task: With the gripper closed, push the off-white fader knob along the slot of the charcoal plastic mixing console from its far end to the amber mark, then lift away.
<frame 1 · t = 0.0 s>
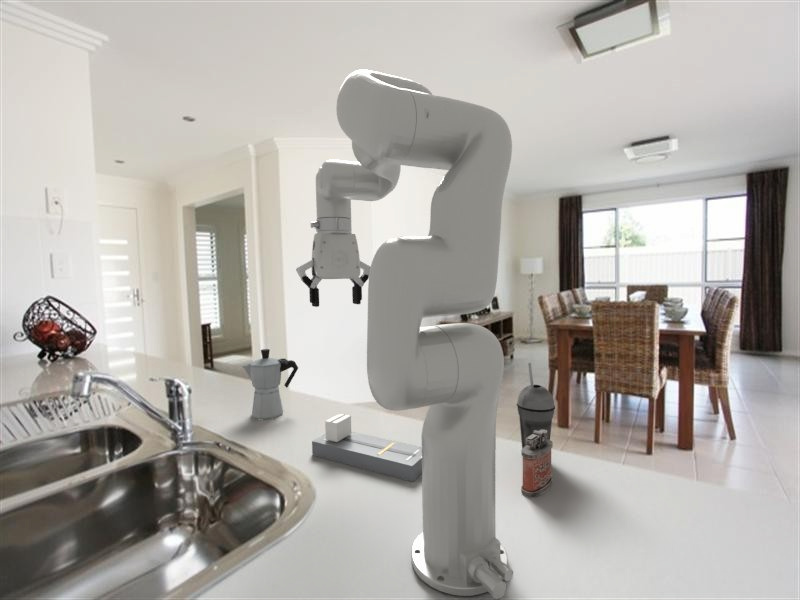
hand: (336, 305, 92), 31 cm above the countertop, fingers open, 9 cm apart
beverage cup: (535, 462, 82), on the countertop
fader knob: (338, 427, 88), point 5 cm above the countertop, slide at 8.0 cm
lighter: (537, 488, 72), on the countertop
coffee maker: (271, 414, 113), on the countertop
console: (370, 459, 84), on the countertop
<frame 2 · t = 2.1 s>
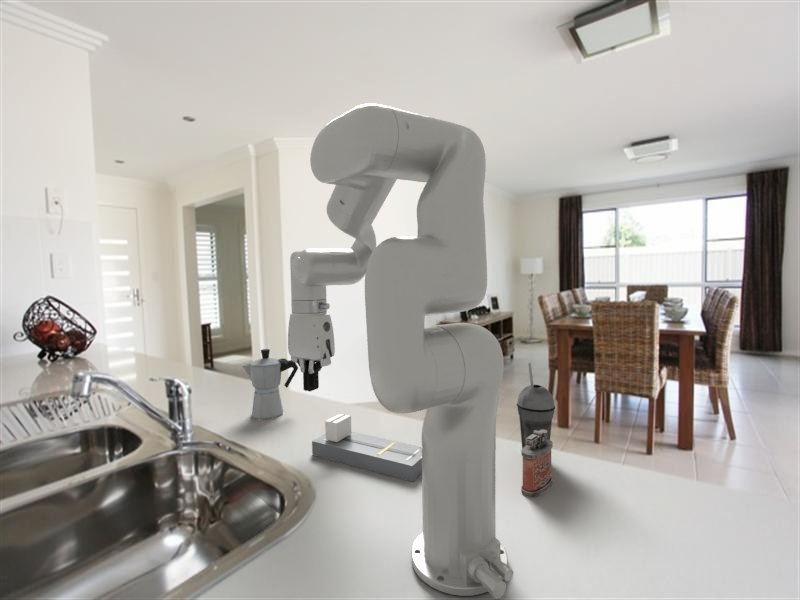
hand: (311, 389, 91), 13 cm above the countertop, fingers closed
nothing on the countertop moved.
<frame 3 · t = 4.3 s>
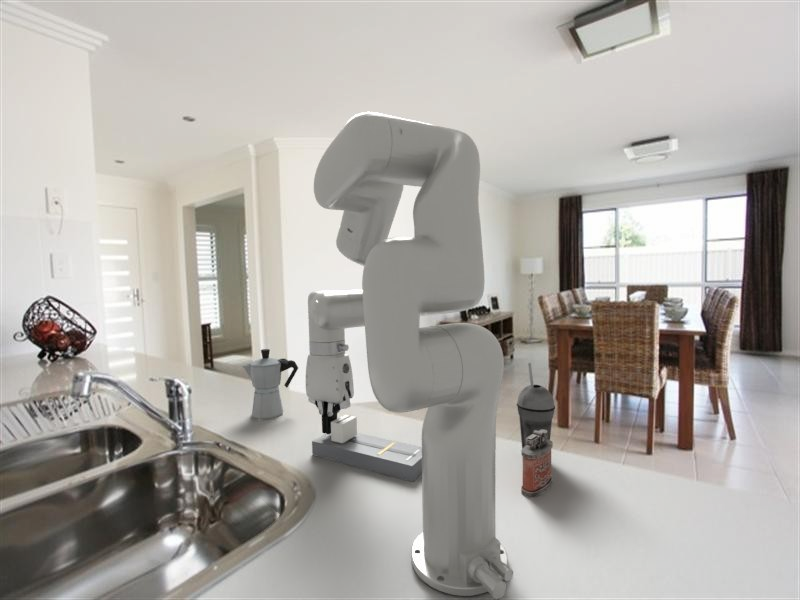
hand: (329, 431, 89), 4 cm above the countertop, fingers closed
fader knob: (344, 428, 87), point 5 cm above the countertop, slide at 6.5 cm, touching gripper
everything else where it was.
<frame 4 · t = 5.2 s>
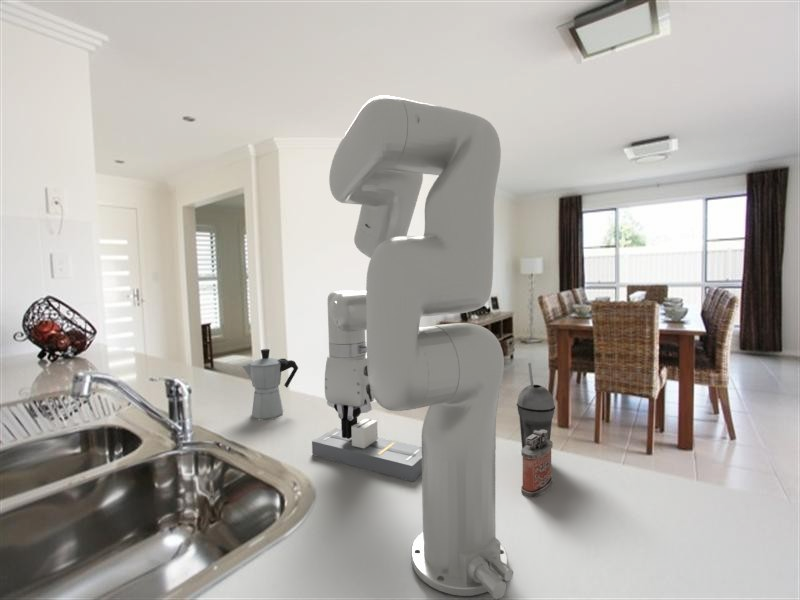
hand: (349, 435, 87), 4 cm above the countertop, fingers closed
fader knob: (364, 432, 85), point 5 cm above the countertop, slide at 1.2 cm, touching gripper
everything else where it was.
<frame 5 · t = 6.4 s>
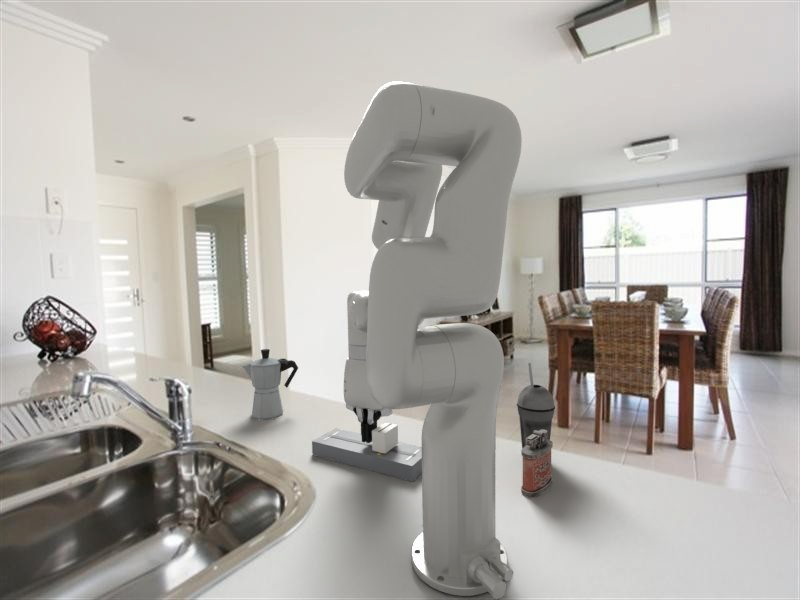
hand: (369, 440, 84), 4 cm above the countertop, fingers closed
fader knob: (385, 437, 82), point 5 cm above the countertop, slide at -3.8 cm, touching gripper
everything else where it was.
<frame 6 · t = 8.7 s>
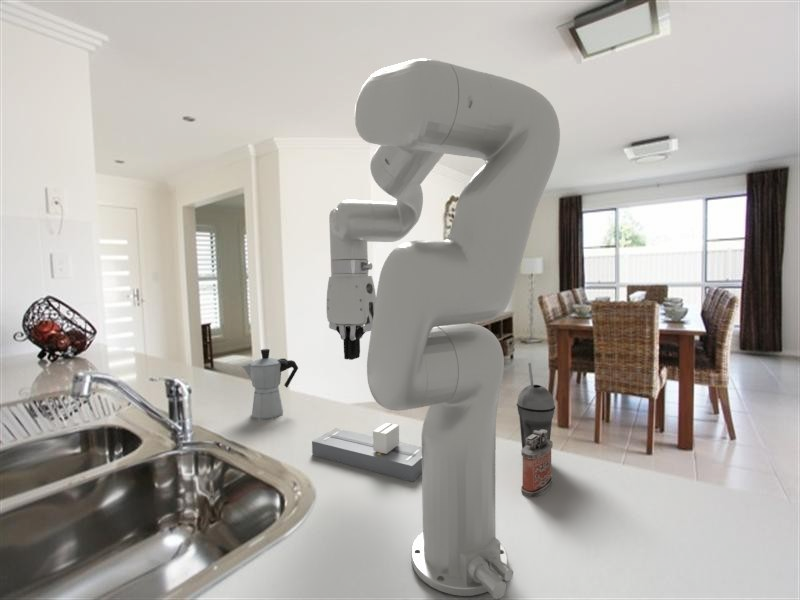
hand: (352, 358, 85), 21 cm above the countertop, fingers closed
fader knob: (386, 437, 82), point 5 cm above the countertop, slide at -4.0 cm
everything else where it was.
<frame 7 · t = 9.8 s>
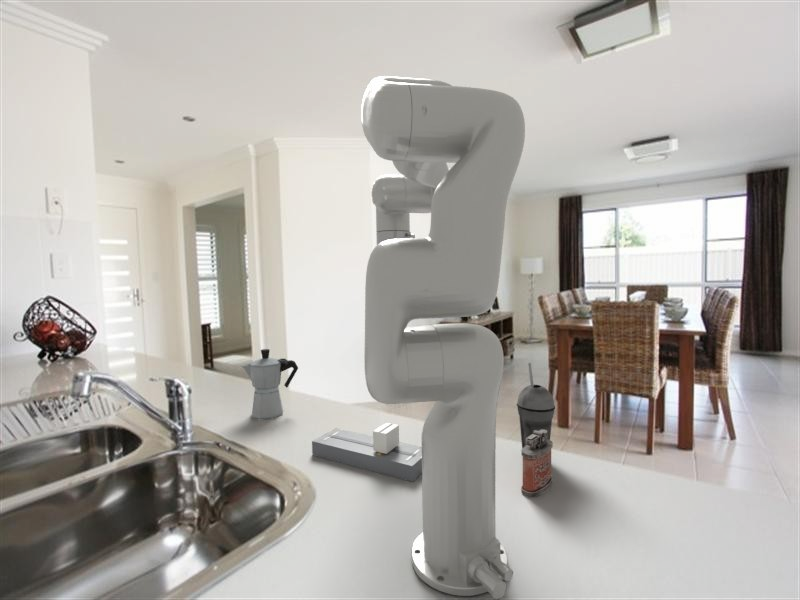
hand: (394, 321, 93), 27 cm above the countertop, fingers closed
nothing on the countertop moved.
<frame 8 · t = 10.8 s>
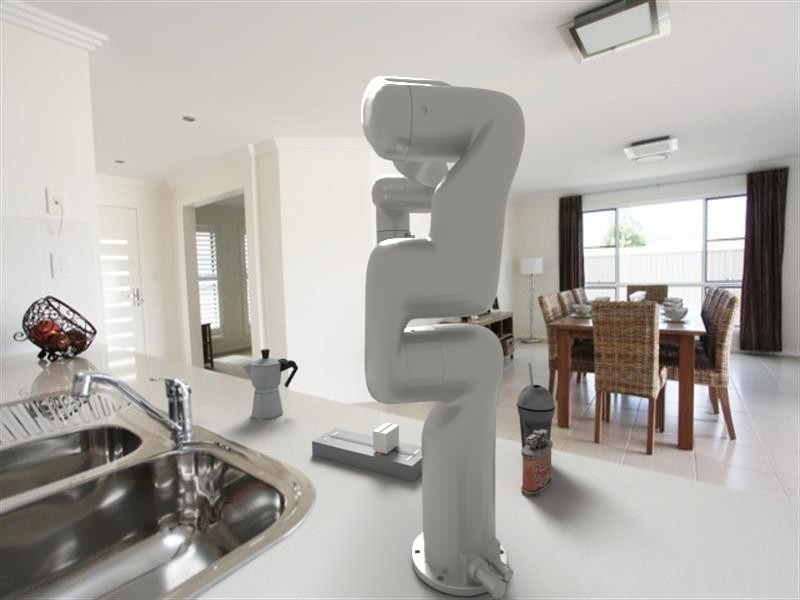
hand: (394, 321, 93), 27 cm above the countertop, fingers closed
nothing on the countertop moved.
at the end: fader knob slide at -4.0 cm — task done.
